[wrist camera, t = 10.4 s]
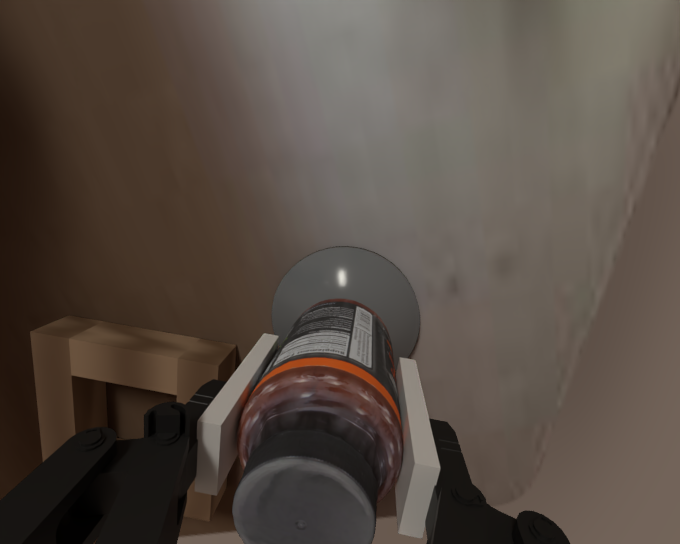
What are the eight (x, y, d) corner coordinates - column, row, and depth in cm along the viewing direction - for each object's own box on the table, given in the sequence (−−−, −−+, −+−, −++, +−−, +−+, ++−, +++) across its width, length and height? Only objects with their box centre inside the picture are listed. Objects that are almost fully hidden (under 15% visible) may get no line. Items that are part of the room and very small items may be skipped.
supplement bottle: (388, 391, 21) (404, 624, 10) (291, 383, 21) (202, 595, 10) (395, 297, 19) (423, 444, 8) (291, 291, 20) (185, 421, 9)
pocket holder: (78, 457, 29) (45, 487, 26) (68, 315, 26) (30, 331, 23) (226, 487, 28) (209, 521, 25) (236, 345, 25) (218, 365, 22)
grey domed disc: (268, 369, 25) (265, 373, 24) (281, 235, 23) (278, 236, 22) (403, 393, 24) (404, 398, 24) (432, 259, 22) (434, 261, 21)
